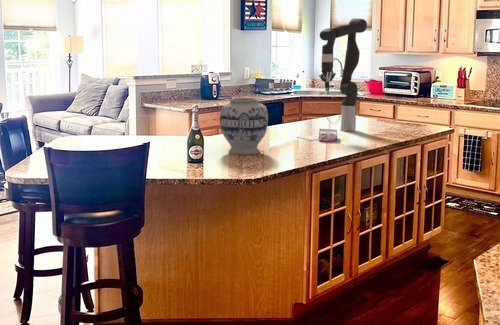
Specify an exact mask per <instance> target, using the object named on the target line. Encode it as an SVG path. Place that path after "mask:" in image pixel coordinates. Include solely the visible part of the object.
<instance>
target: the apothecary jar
mask: <svg viewBox="0 0 500 325" xmlns="http://www.w3.org/2000/svg"><path fill="white" fill-rule="evenodd" d="M258 101H259V99H258V98H255V97H238V98H230V99H229V103H227V104H225V105H223V106H222V107H221V108H220V111H219V124H220V125H219V126H220V130H221V133H222V135H223V137H224V139H225V140H226V141H227V143H228V144H229V145H230V149H228V153H229V154H231V155H236V156H237V155H239V156H240V155H241V156H243V155H247V156H248V155H249V156H250V155H256V154H259V153H260V151H261V150H260V149H259V148H258V146H259V144H260V143H261V141H262V140H263V139H264V137H265V136H266V133H267V130H268V125H269V124H268V123H269V113H268V109H267V106H266V105H265V104H263V103H260V102H258Z"/></svg>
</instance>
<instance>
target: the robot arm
mask: <svg viewBox="0 0 500 325" xmlns="http://www.w3.org/2000/svg"><path fill="white" fill-rule="evenodd" d="M367 27H368V22H367V20H365V19H364V18H351V19H350V20H349V22H348V24H340V25H338V26H335V27H331V28H324V29H322V30H321V31H320V32H319V38H320V39H321V40H322V41H323V42H325V41H326V43H325V44H323V45H322V47H321V48H322V49H321V67H320V68H321V71H320V73H318V77H319V78H320V80H321V82H324V88H325V89H329V88H330V82H333V80H334V78H335V76H336V75H337V74H336V73H335V72H334V70H333V68H334V46H335V44H336V43H335V42H336V39H338V38H341V37H344V36H347V42H346V43H347V44H346V51H345V57H344V66H343V72H342V77H341V81H340V85H339V91H340V92H339V93H341V94H342V95H344V96H345V99H344V100H342V101H341V109H340V110H341V112H340V113H341V116H340V131H342V132H354V131H356V129H357V128H356V127H357V124H356V123H357V122H356V121H357V116H356V103H357V100H358V92H359V91H358V90H359V89H358V85H357V83H356V82H354V81H352V75H353V74H354V71H355V70H356V68H357V66H358V64H359V61H360V54H361V53H360V48H359V46H358V43H357V39H356V38H357V33H358V34H360V33H361V34H362V33H365V31H366V30H367Z"/></svg>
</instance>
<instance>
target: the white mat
mask: <svg viewBox="0 0 500 325" xmlns="http://www.w3.org/2000/svg"><path fill="white" fill-rule="evenodd" d="M297 138H299V139H302V140H306V141H319V134H312V135H300V136H297Z"/></svg>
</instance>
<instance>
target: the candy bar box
mask: <svg viewBox="0 0 500 325" xmlns="http://www.w3.org/2000/svg"><path fill="white" fill-rule="evenodd" d="M318 135H319V140H318V141H319V142H331V143H333V142H334V143H337V141H338V130H337V129H331V128H330V129H328V128H319V132H318Z"/></svg>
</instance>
